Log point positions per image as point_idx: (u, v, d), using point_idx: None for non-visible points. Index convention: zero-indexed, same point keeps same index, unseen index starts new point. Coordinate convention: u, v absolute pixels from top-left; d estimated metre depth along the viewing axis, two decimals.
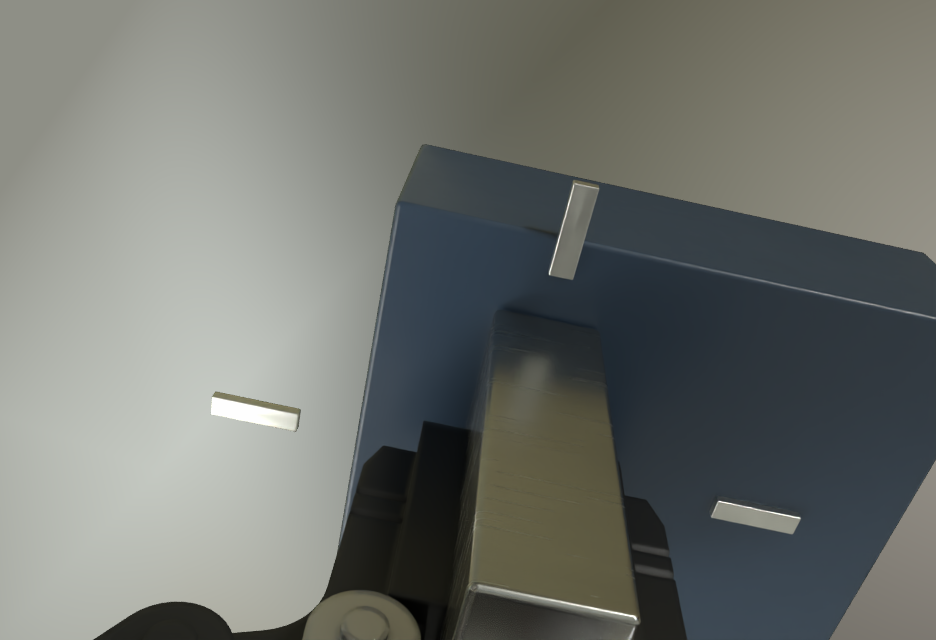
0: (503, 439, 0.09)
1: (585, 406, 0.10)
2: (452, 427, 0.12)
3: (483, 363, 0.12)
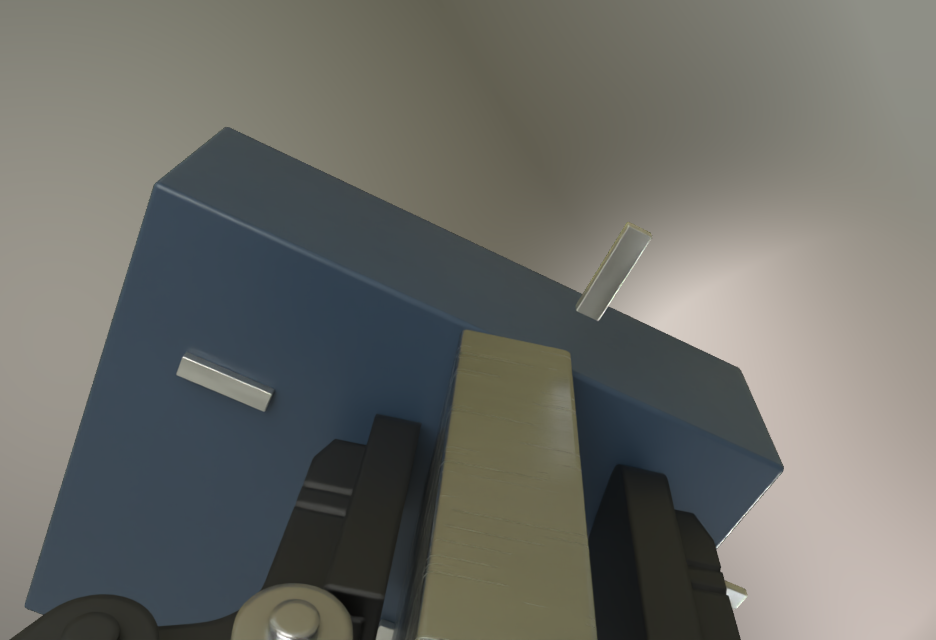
0: (461, 472, 0.09)
1: (551, 435, 0.10)
2: (404, 420, 0.12)
3: (448, 385, 0.12)
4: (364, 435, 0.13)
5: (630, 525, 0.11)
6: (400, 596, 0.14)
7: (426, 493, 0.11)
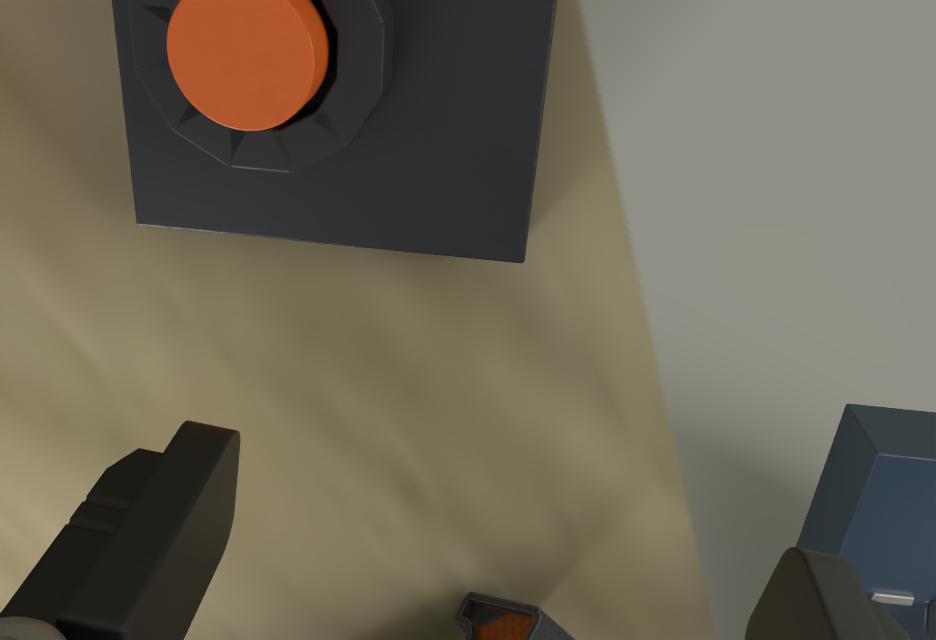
0: None
1: None
2: (216, 428, 0.11)
3: None
4: None
5: (830, 624, 0.10)
6: None
7: None
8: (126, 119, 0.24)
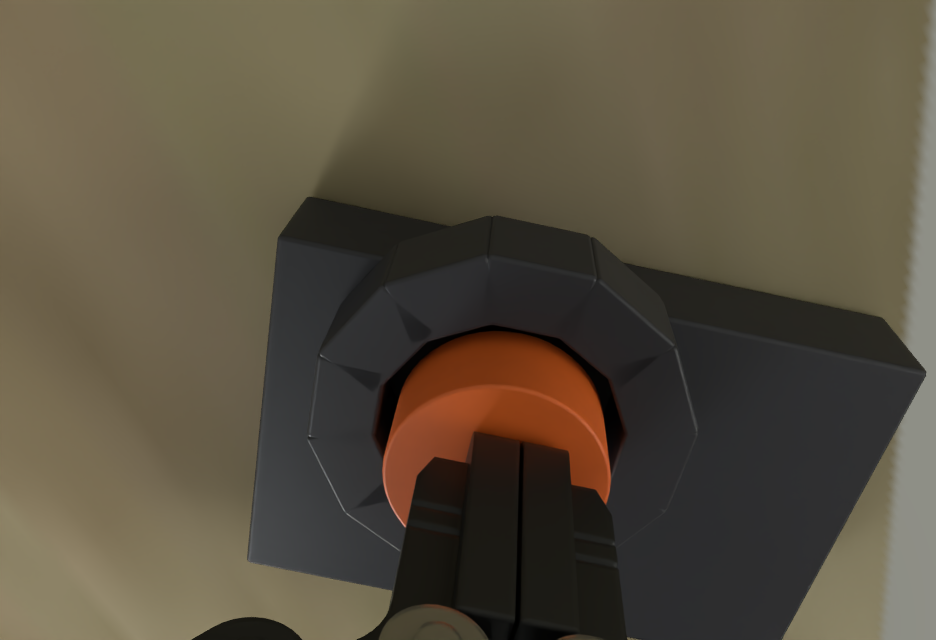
0: None
1: None
2: (503, 438, 0.12)
3: None
4: None
5: (523, 499, 0.11)
6: None
7: None
8: (260, 446, 0.17)
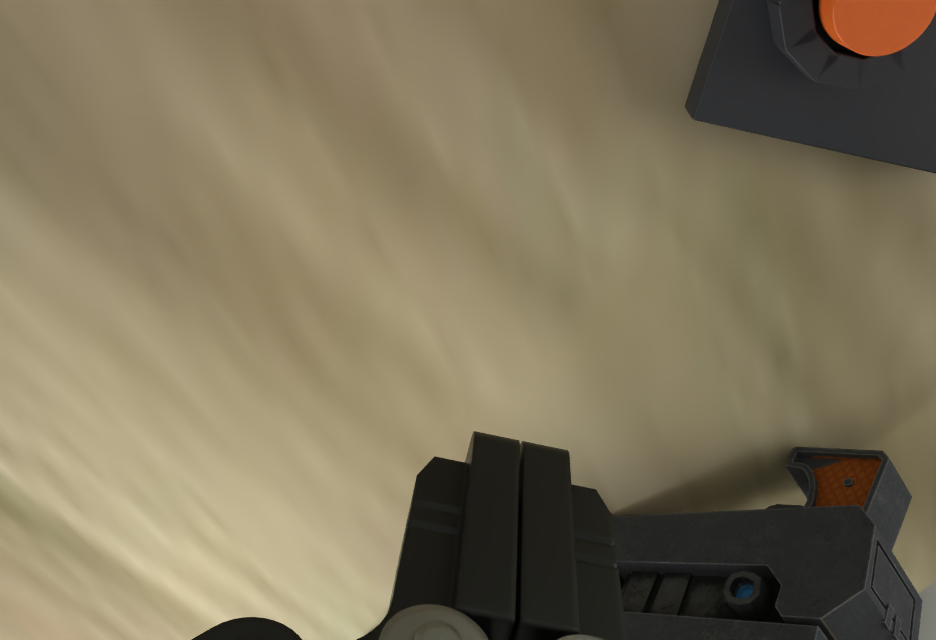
0: None
1: None
2: (503, 438, 0.12)
3: None
4: None
5: (523, 499, 0.11)
6: None
7: None
8: (720, 40, 0.33)
